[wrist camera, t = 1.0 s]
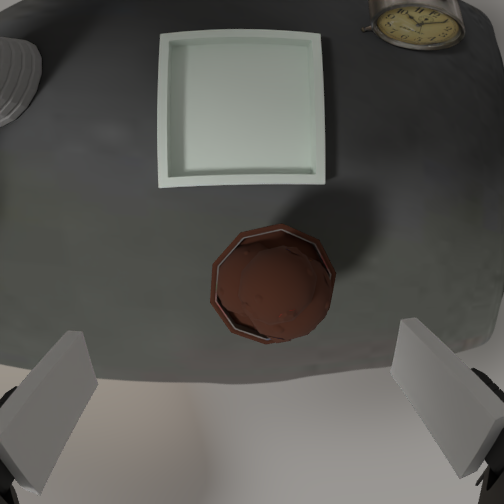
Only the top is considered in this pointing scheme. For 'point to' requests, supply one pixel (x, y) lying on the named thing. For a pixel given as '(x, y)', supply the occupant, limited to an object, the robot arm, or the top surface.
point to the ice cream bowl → (272, 284)
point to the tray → (240, 108)
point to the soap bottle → (17, 77)
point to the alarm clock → (417, 23)
